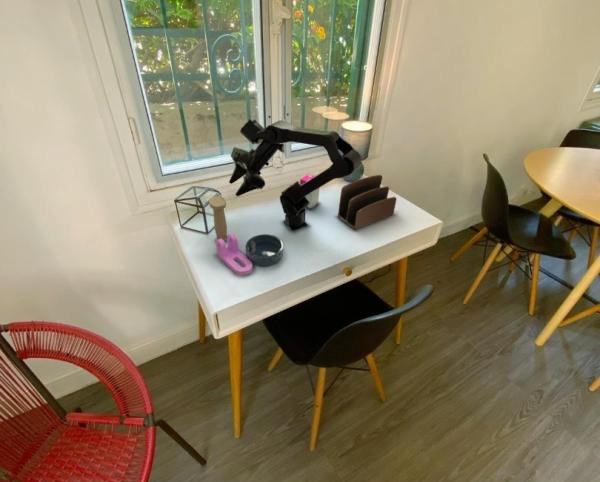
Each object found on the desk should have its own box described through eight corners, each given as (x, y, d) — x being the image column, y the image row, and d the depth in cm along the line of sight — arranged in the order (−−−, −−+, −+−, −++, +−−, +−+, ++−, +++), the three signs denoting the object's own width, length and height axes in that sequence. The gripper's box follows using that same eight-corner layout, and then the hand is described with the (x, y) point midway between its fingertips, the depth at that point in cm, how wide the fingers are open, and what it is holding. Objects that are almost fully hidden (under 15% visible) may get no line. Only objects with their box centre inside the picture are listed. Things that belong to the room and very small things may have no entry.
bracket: (217, 255, 105) (214, 238, 101) (232, 248, 108) (230, 231, 104) (240, 277, 97) (239, 259, 93) (256, 269, 100) (255, 251, 96)
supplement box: (318, 203, 133) (320, 177, 126) (311, 209, 128) (312, 183, 122) (306, 198, 135) (307, 173, 128) (298, 205, 131) (299, 179, 124)
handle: (218, 246, 108) (212, 207, 99) (212, 236, 113) (206, 198, 104) (232, 242, 110) (228, 204, 101) (226, 232, 115) (221, 194, 106)
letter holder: (337, 217, 125) (341, 183, 117) (375, 203, 134) (381, 171, 126) (354, 230, 118) (360, 196, 110) (393, 215, 127) (401, 182, 119)
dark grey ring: (271, 239, 112) (271, 230, 110) (290, 259, 104) (290, 249, 102) (240, 251, 107) (239, 241, 105) (257, 272, 99) (256, 262, 97)
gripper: (237, 129, 112) (208, 165, 114) (253, 150, 97) (219, 189, 100) (261, 149, 119) (233, 181, 121) (278, 170, 105) (247, 207, 107)
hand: (233, 189), depth 112 cm, fingers open, 9 cm apart
